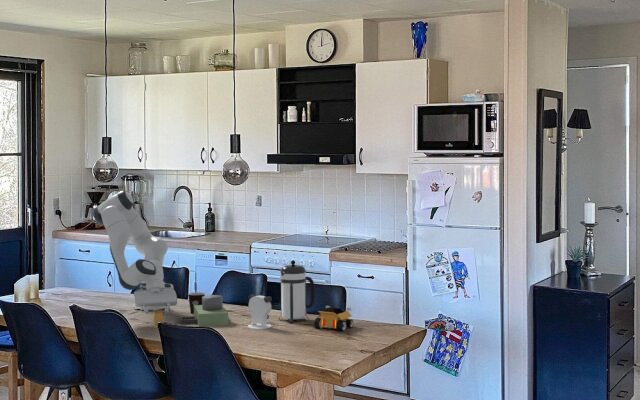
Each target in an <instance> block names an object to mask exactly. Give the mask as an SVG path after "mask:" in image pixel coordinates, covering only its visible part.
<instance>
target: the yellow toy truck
mask: <svg viewBox="0 0 640 400" xmlns="http://www.w3.org/2000/svg"><path fill="white" fill-rule="evenodd" d="M350 311H352V308H351V307H346V310H344V309H341V308H338V307H331V306H330V305H325V311H323V310H322V311H320V310H318V311H317V312H318V313H319V315H317V317H316V318H315V319H314V321H313V327H314V328H315V329H323V328H325V329H336V331H338V332H345V331H346V329H347V327H352V328H353V327H354V324H355V323H354V319H353V318H352V319H351V317H353V316H352V315H351V313H350Z"/></svg>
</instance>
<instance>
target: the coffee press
mask: <svg viewBox="0 0 640 400" xmlns="http://www.w3.org/2000/svg"><path fill="white" fill-rule="evenodd" d="M296 263H297V262H296V260H294V259H293V260H291V261H290V264H288V265H287V264H286V265H284V266H283V267H281V270H279V272H280V274H279V276H280V277H279V278H280V316H279V317H278V321H282V320H283V319H285V320H289V323H290V324H293V323H294V320H300V319H301V320H302V319H303V320H305V321H307V322H308V321H309V319H310V318H309V317H308V316H307V315H308V314H307V309H310V308H312V306H313V305H314V303H315V283H314V279H312V277H310V276H306V273H307V270H306V268H305V267H304V265H301V264H296ZM307 281H308V282H309V291H310V292H309V296H310V297H309V298H310V299H309V302H308V304H307ZM281 316H282V319H281ZM305 317H306V318H307V319H306V318H305Z"/></svg>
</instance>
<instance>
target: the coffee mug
mask: <svg viewBox="0 0 640 400" xmlns="http://www.w3.org/2000/svg"><path fill="white" fill-rule="evenodd" d="M187 295H188V303H189V311H190V314H192V315H194V305H202V297H203V296H206V294H205V292H198V291H197V292H190V293H187Z"/></svg>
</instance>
